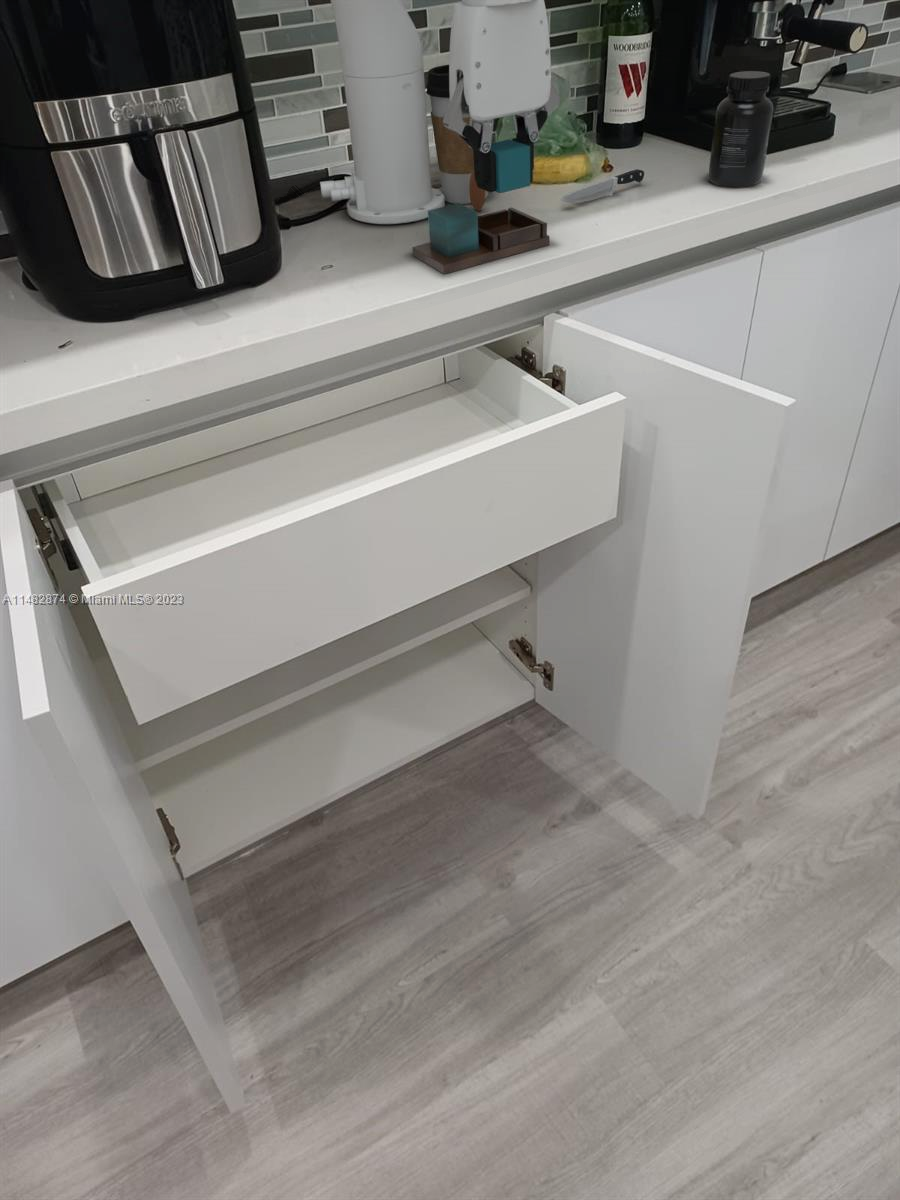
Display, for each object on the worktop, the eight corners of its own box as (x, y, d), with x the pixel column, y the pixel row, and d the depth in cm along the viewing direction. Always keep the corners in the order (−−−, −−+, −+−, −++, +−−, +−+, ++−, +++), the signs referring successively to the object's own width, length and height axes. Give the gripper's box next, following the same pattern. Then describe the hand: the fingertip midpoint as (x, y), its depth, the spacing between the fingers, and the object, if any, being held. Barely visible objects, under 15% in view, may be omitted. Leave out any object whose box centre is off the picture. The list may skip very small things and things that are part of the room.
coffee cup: (472, 210, 110) (467, 74, 100) (420, 201, 114) (410, 69, 104) (509, 192, 115) (508, 60, 105) (458, 183, 119) (452, 56, 109)
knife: (561, 212, 108) (561, 195, 106) (557, 211, 108) (557, 194, 107) (643, 185, 114) (644, 168, 112) (639, 183, 114) (640, 167, 113)
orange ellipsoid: (468, 213, 109) (466, 170, 106) (472, 208, 111) (470, 165, 107) (484, 213, 109) (482, 170, 105) (487, 208, 110) (486, 165, 107)
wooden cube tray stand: (444, 274, 94) (441, 227, 91) (412, 255, 99) (408, 209, 96) (549, 244, 99) (550, 198, 96) (514, 228, 104) (514, 184, 101)
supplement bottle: (773, 181, 112) (792, 74, 104) (733, 192, 109) (749, 83, 101) (735, 169, 116) (750, 66, 108) (696, 179, 114) (708, 74, 106)
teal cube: (499, 193, 94) (498, 153, 91) (480, 185, 96) (478, 146, 94) (530, 185, 95) (530, 145, 92) (510, 178, 98) (509, 139, 95)
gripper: (548, -30, 89) (547, 163, 101) (405, -9, 84) (422, 193, 95) (593, -27, 84) (586, 176, 96) (444, -4, 78) (456, 209, 90)
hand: (504, 183), depth 96 cm, fingers closed on teal cube, 4 cm apart
